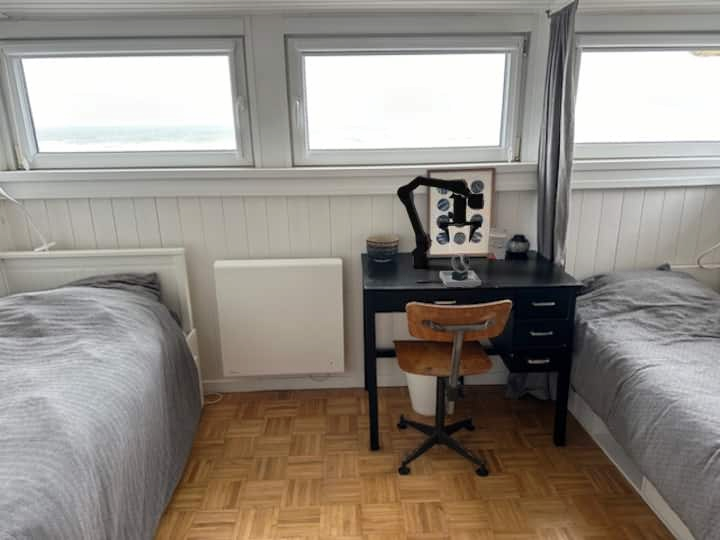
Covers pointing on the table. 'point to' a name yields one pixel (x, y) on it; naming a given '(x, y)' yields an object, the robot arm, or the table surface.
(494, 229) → the ink cartridge box
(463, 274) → the watch
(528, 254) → the table surface
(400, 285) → the table surface
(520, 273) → the table surface
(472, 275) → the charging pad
